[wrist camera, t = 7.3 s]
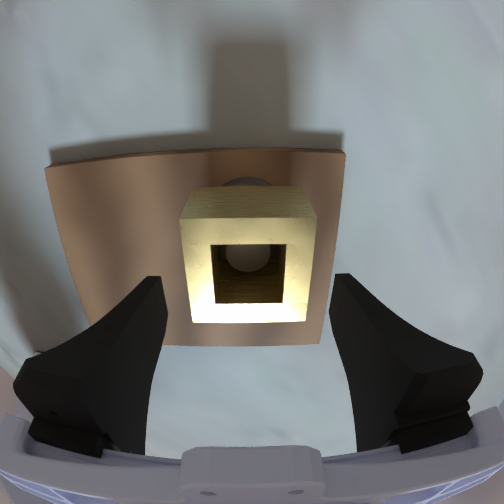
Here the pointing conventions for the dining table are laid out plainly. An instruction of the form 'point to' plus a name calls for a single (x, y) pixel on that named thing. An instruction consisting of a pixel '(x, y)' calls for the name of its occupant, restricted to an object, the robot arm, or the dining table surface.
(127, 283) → the peg board
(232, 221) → the brass collar
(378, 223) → the dining table surface
